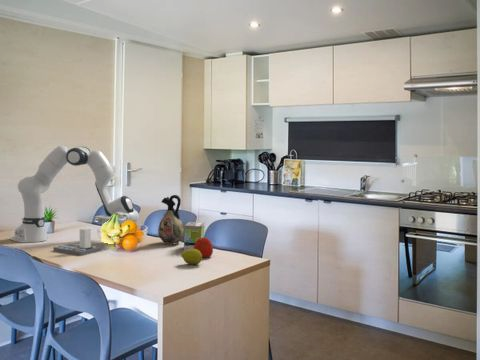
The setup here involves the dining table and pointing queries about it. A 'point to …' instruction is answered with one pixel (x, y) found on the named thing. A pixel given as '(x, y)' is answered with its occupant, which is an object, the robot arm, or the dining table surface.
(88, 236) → the fader knob
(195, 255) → the lemon
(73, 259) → the dining table surface
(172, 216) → the ceramic jug
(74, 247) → the console
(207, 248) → the apple
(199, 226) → the tea box
